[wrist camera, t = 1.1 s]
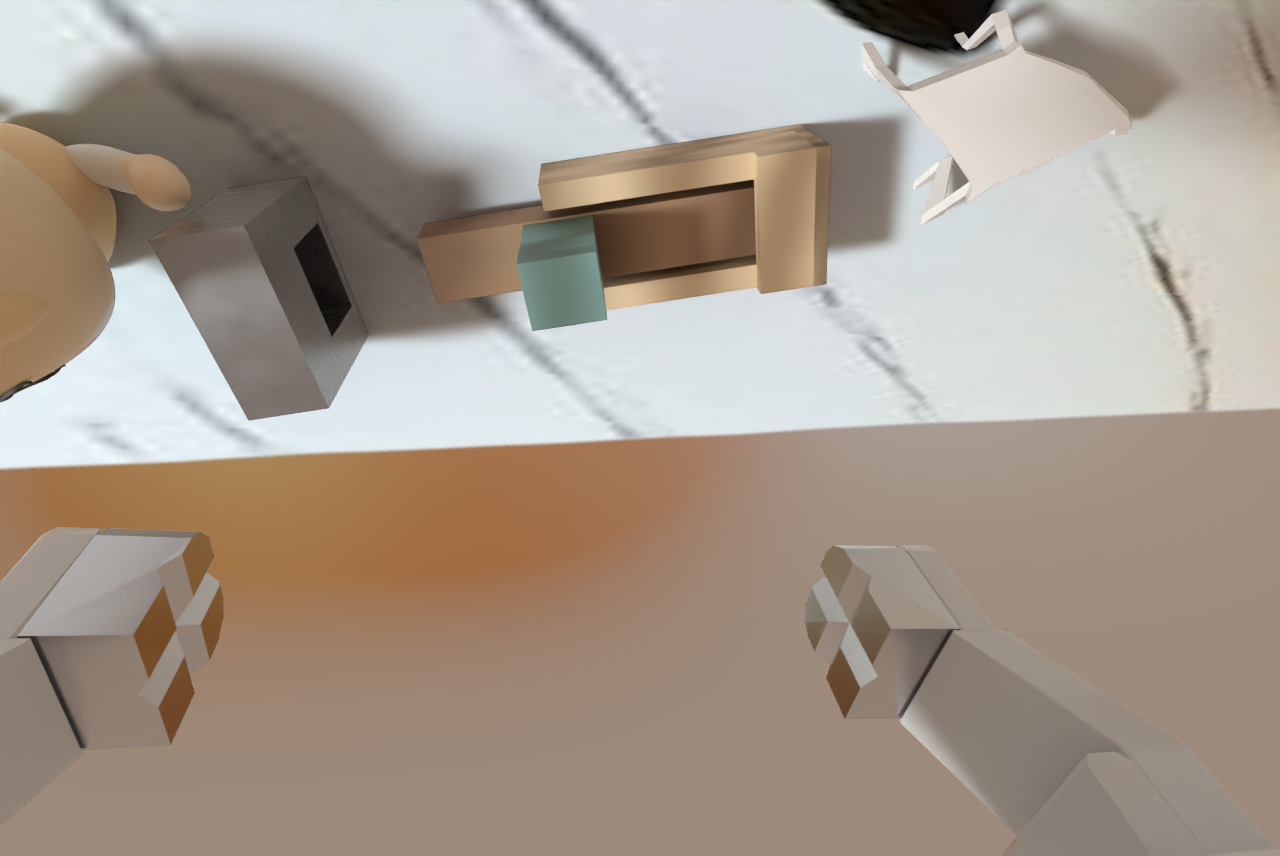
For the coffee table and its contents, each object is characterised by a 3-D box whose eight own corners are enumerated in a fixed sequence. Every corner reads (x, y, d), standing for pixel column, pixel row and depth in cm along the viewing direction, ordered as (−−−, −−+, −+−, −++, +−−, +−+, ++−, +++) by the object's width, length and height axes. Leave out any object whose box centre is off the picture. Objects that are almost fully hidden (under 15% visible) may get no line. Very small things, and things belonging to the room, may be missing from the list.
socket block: (305, 176, 30) (244, 225, 25) (368, 335, 35) (328, 408, 29) (228, 188, 30) (148, 240, 25) (301, 345, 35) (248, 420, 29)
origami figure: (841, 220, 34) (878, 255, 30) (845, 28, 29) (890, 38, 25) (1079, 178, 34) (1149, 207, 30) (1123, -22, 29) (1214, -20, 25)
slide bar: (772, 169, 31) (818, 215, 25) (773, 234, 32) (816, 289, 27) (425, 223, 31) (393, 280, 25) (444, 284, 32) (418, 350, 27)
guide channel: (800, 124, 31) (831, 145, 27) (799, 250, 34) (826, 284, 31) (541, 164, 31) (537, 190, 27) (565, 286, 34) (565, 323, 31)
